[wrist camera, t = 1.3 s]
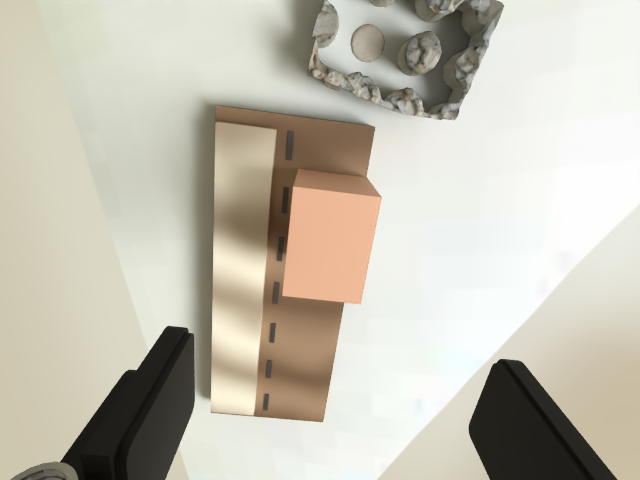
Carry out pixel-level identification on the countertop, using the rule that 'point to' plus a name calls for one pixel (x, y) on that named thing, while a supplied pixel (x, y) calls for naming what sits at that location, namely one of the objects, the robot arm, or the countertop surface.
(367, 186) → the peach rectangular block
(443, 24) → the countertop surface
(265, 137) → the board
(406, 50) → the egg carton
